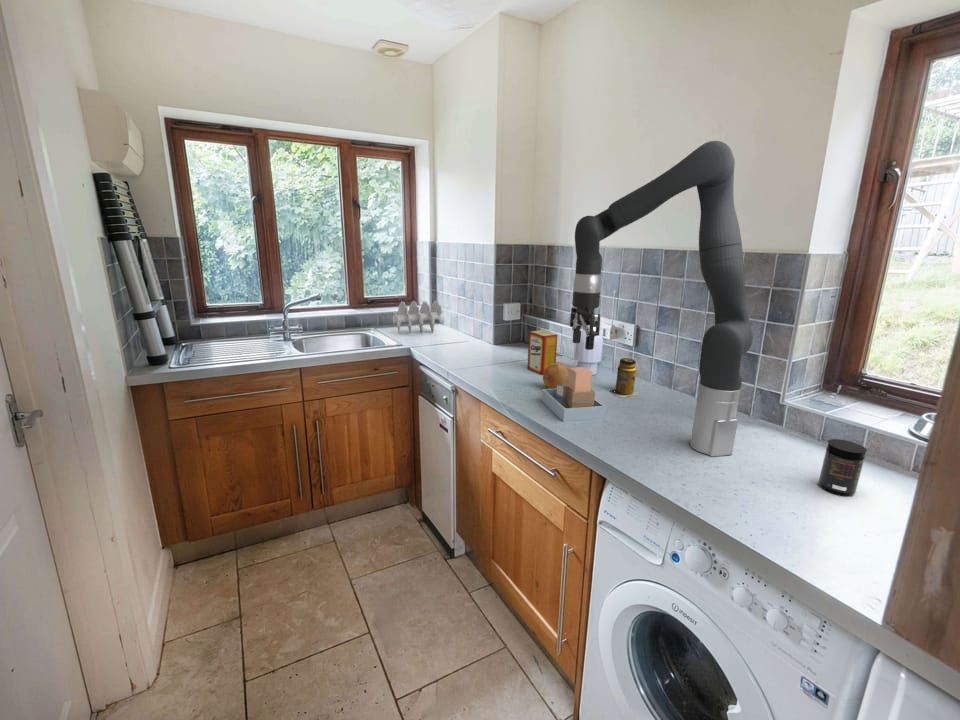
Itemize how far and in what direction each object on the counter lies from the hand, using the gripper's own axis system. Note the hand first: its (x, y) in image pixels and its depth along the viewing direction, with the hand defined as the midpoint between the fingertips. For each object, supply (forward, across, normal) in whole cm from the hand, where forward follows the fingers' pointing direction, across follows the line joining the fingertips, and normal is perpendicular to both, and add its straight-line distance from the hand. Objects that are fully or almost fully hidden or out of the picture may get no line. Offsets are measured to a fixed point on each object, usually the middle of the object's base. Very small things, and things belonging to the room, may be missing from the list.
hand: (582, 346), depth 134 cm
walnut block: (+21, 0, 0) cm, 21 cm away
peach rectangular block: (+13, 0, 0) cm, 13 cm away
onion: (+22, +24, -3) cm, 33 cm away
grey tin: (+21, +8, 0) cm, 23 cm away
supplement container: (+22, -50, -39) cm, 67 cm away
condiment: (+22, +17, -25) cm, 37 cm away
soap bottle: (+22, +41, -23) cm, 52 cm away
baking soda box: (+22, +47, -6) cm, 52 cm away
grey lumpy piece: (+21, +127, +36) cm, 134 cm away
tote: (+22, +4, 0) cm, 22 cm away
